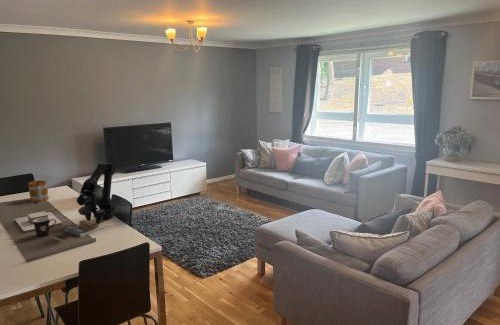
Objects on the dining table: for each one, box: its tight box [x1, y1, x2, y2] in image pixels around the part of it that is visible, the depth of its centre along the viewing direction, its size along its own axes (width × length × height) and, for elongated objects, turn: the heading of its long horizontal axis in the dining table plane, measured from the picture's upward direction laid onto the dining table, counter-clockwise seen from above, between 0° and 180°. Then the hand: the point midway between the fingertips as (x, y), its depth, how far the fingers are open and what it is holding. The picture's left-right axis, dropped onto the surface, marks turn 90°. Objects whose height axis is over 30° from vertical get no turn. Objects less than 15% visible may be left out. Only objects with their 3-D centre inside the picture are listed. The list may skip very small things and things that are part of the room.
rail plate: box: [65, 219, 112, 238], centre depth 236 cm, size 21×18×4 cm
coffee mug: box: [32, 216, 57, 238], centre depth 230 cm, size 12×9×10 cm
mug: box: [27, 179, 50, 203], centre depth 303 cm, size 20×14×15 cm
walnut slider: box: [78, 219, 99, 231], centre depth 236 cm, size 4×14×4 cm, turn 57°
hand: (93, 224), depth 239 cm, fingers open, 9 cm apart
